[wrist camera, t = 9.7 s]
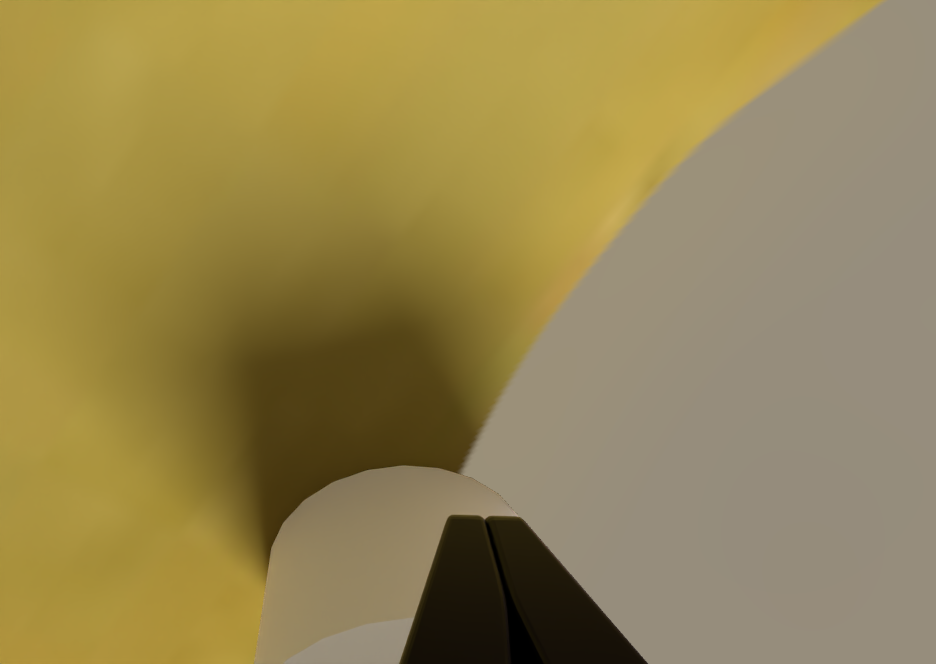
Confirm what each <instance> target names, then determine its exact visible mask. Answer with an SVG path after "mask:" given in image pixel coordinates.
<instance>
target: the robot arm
mask: <svg viewBox="0 0 936 664" xmlns="http://www.w3.org/2000/svg"><path fill="white" fill-rule="evenodd" d="M399 664H648V663H647V662H646V661H645V660H644V659H643V657H642V656H641V655H640V654H639V653H638V652H637V650H636V649H635V648H634V647H633V646H632V645H631V643H629V641H628V640H627V639H626V638H625V637H624V635H623V634H622V633H621V632H620V631H619V630H618V628H617V627H616V626H615V625H614V624H613V623H612V622H611V620H610V619H609V618H608V617H607V616H606V615H605V614H604V613H603V611H602V610H601V609H600V608H599V607H598V605H597V604H596V603H595V602H594V601H593V599H592V598H591V597H590V596H589V595H588V594H587V593H586V591H585V590H584V589H583V588H582V587H581V586H580V585H579V583H578V582H577V581H576V580H575V579H574V577H573V576H572V575H571V574H570V573H569V572H568V571H567V569H566V568H565V567H564V566H563V565H562V564H561V562H560V561H559V560H558V559H557V558H556V557H555V556H554V554H553V553H552V552H551V551H550V550H549V549H548V547H547V546H546V545H545V544H544V543H543V542H542V541H541V539H540V538H539V537H538V536H537V535H536V533H535V532H534V531H533V530H532V529H531V528H530V527H529V526H528V524H527V523H526V522H525V521H524V520H523V519H521V518H520V517H517V516H489V517H487V518H485V520H484V518H483V517H481V516H479V515H450V516H449V517H448V518H447V520H446V523H445V526H444V529H443V532H442V535H441V538H440V541H439V544H438V547H437V550H436V553H435V556H434V559H433V562H432V565H431V568H430V571H429V574H428V577H427V580H426V583H425V586H424V590H423V593H422V596H421V599H420V602H419V605H418V608H417V611H416V614H415V617H414V620H413V623H412V626H411V629H410V632H409V635H408V638H407V641H406V644H405V647H404V650H403V653H402V656H401V659H400V662H399Z"/></svg>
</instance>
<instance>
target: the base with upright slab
mask: <svg viewBox="0 0 936 664" xmlns="http://www.w3.org/2000/svg"><path fill="white" fill-rule="evenodd" d="M450 515H479V516H481V517H483V518H484V520H485V518H487V517H489V516H517V517H518V515H517V514H516V512H514V510H513V509H512V508H511V507H510V506H509V505H508V504H507V503H506V502H505V500H503V498H502V497H501V496H500V495H499V494H498V493H496V492H495V491H493V490H491V489H489V488H488V487H486V486H485V485H483V484H481V483H479V482H478V481H476V480H475V479H473V478H471V477H467V476H464V475H460V474H457V473H454V472H451V471H447V470H444V469H441V468H431V467H418V466H405V465H403V466H395V467H387V468H380V469H372V470H366V471H363V472H360V473H357V474H354V475H352V476H349V477H346V478H343V479H340V480H337V481H334V482H332V483H330V484H329V485H327V486H326V487H324V488H323V489H321V490H319V491H318V492H316V493H315V494H313V495H311V496H310V497H308V498H307V499H305V500H304V501H303V502H302V503H301V504H300V505H299V506H298V507H297V508H296V509H295V510H294V512H293V513H292V514H291V515H290V516H289V517H288V518H287V519H286V520H285V521H284V522H283V524H282V526H281V528H280V530H279V533H278V535H277V537H276V539H275V541H274V543H273V545H272V547H271V554H270V561H269V567H268V574H267V581H266V587H265V594H264V601H263V608H262V614H261V621H260V628H259V634H258V641H257V648H256V655H255V661H254V664H399V662H400V659H401V656H402V653H403V650H404V647H405V644H406V641H407V638H408V635H409V632H410V629H411V626H412V623H413V620H414V617H415V614H416V611H417V608H418V605H419V602H420V599H421V596H422V593H423V590H424V586H425V583H426V580H427V577H428V574H429V571H430V568H431V565H432V562H433V559H434V556H435V553H436V550H437V547H438V544H439V541H440V538H441V535H442V532H443V529H444V526H445V523H446V520H447V518H448V517H449V516H450Z"/></svg>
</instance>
